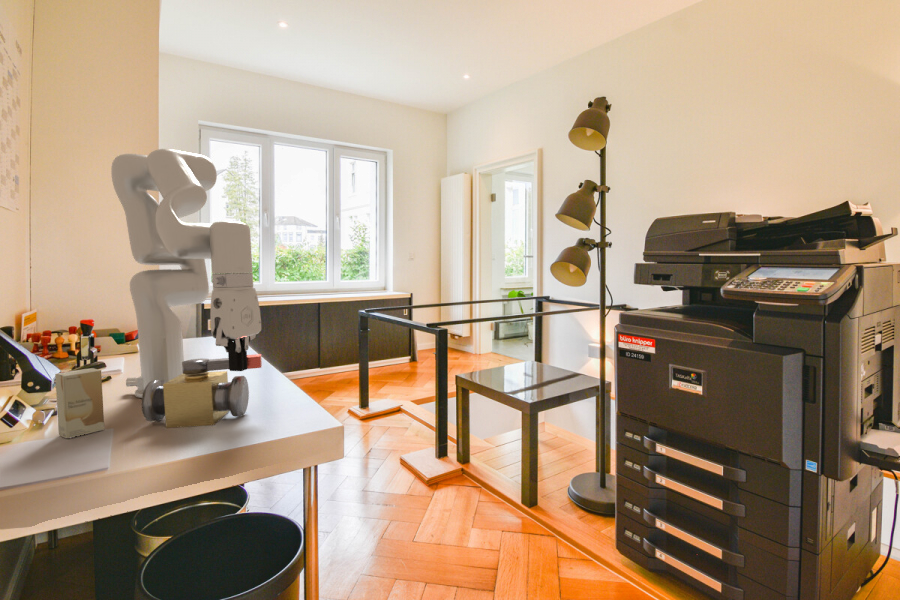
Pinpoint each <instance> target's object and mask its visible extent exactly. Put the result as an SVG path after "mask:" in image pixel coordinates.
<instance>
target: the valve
mask: <svg viewBox="0 0 900 600" xmlns="http://www.w3.org/2000/svg"><path fill="white" fill-rule="evenodd" d="M228 378H229V377H228V370H219V371H208V372H204V373H199V374H181V375H179V376H177V377H176V378H174V379H172V380H170V381H168V382H165V381H164V380H152V381H150V382H149V383H148V384H147V386H146V387H145V389H144V392H143V396H142V398H141V412H142V414H143V417H144V419H145V420H146V421H147V422H160V421H162V420H163V419H164V418H165V428H166V429H172V428H173V429H174V428H187V427H189V428H190V426H191V427H205V426H206V427H207V426H208V427H209V426H214V425H216V424H217V423H218V422H219V421H220V420H222V418H223V417H224V416H225V415H227V414H228V413H227V412H230V414H231V416H232V417H242V416H244V415H245V413H247V408H248V405H249V398H250V397H249V395H250V392H249V391H250V390H249V383H248V379H247V377H246V376H245V375H241V376H240V375H236V376H234V377H232V380H231V381H230V382H229V380H228ZM226 413H227V414H226Z"/></svg>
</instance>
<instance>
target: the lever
mask: <svg viewBox="0 0 900 600" xmlns="http://www.w3.org/2000/svg"><path fill="white" fill-rule="evenodd" d="M262 363H263V362H262V354H261V353H257V354H247V366H248V368H247V369H246V370H252V369H253V370H254V369H261V368H262ZM226 370H229V357H227V358H226V357H225V358H213V359H211V358H210V359H209V358H193V359H188V360H184V361H183V362H182V371H183V374H199V373H204V372H215V371H226Z"/></svg>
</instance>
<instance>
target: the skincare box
mask: <svg viewBox="0 0 900 600" xmlns="http://www.w3.org/2000/svg"><path fill="white" fill-rule="evenodd" d="M54 378H55V391H56V393H55V395H56V409H57V410H56V411H57V422H58V423H57V427H58V435H59V436H60V437H62V438H64V439H66V438H70V437H73V438H76V437H75V436H77V437H80V435H81V436H84V434H85V435H87V434H92V433H97V432H100V431H104V430H105V416H104V415H105V414H104V398H103V380H102V370H101V369H99V368H98V369H97V368H94V367H91V368H84V369H78V370H77V369H76V370H70V371H64V372H58V373H55V374H54ZM70 439H71V438H70Z"/></svg>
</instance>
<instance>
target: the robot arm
mask: <svg viewBox="0 0 900 600" xmlns="http://www.w3.org/2000/svg"><path fill="white" fill-rule="evenodd" d="M217 176H218V175H217V170H216V167H215V165H214V163H213V161H212V160H211V159H210V158H209V157H207V156H205V155H202V154H198V153H192V152H187V151H181V150H178V149H171V148H158V149H154V150H152V151H151V152H150V153H148V154H142V153H140V154H139V153H123V154H119V155H117V156H116V157H115V158H114V159H113V160H112V164H111V182H112V184H113V189H114V191H115V195H117V198H118V200H119V202H120V203H121V204H120V205H121V206H122V208H123V210H124V215H125V220H126V221H125V222H126V225H127V226H126V227H127V233H128V237H129V238H128V239H129V245H130V249H131V250H130V251H131V256H132V257H133V259H134V261H135V262H137V263H138V264H141V265H145V266H180V269H179V268H178V269H176V268H175V269H170V268H169V269H166V268H165V269H162V268H161V269H147V270H142V271H139V272H137V273H135V274H134V275H132V277H131V279H130V282H129V292H130V296H131V299H132V303H133V306H134V309H135V310H134V311H135V316H136V318H135V319H136V324H137V325H136V326H137V339H138V351H139V352H138V353H139V363H140V364H139V365H140V376H138V377H137V376H136V377H127V379H126V381H125V386H126V387H137V388H136V390H135V391H134V396H135V397H136V398H139V399H140V398H141V399H142V396H143V392H144V389H145V387H146V386H147V384H148V383H149V382H150V381H152V380H164V381H165V382H168V381H170V380H172V379H174V378H176V377H177V376H179V375H181V374H183V371H182V362H183V361H185V355H184V338H183V337H184V336H183V326H182V322H181V319H180V318H179V316H178V315H177V314H175V312H174V311H173V310H172V309H171V307H176V306H189V305H198V304H201V303H203V302H205V301H206V300H207V298H208V296H209V292H210V287H209V278H208V273H207V267H206V259H207V260H208V259H209V260H210V261H211V262H210V263H211V278H212V279H211V283H212V291H211V299H210V330H211V336H212V337H213V338H214V339H215V346H216V347H223V348H224V349H225V352H226V353H228V355H227V358H229V369H228V370H229V371H230V372H244V371H246V370H248V369H247V368H248V366H247V355H248V354H247V353H248V350H249V348H250V347H249V346H250V342H251V341H253V340H254V339H256V335H258V334H259V333H260V332H261V331H262V319H261V317H262V316H261V309H260V304H259V303H260V302H259V297H258V294H257V293H258V292H257V291H256V288H255V287H254V275H253V273H254V272H253V258H252V257H253V256H252V239H251V229H250V227H249V225H248V224H247V223H245V222H242V221H234V220H231V221H229V220H228V221H227V220H224V221H215V222H213V223H207V222H189V221H188V222H187V221H183V220H182V221H181V218H184V217H187V216H190V215H193V214H195V213H198V211H200V210H201V209H202V208H203V207H205V205H206V202H207V200H208V196H207V191H209V190H212V188H213V187H214V186H215V184H216V182H217ZM148 191H153V192H159V194H160V195H161V197H162V200H161V201H160V203H159V202H158V201H157V199H156V198H154V197H153V195H151V194H150V193H149V192H148Z"/></svg>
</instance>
